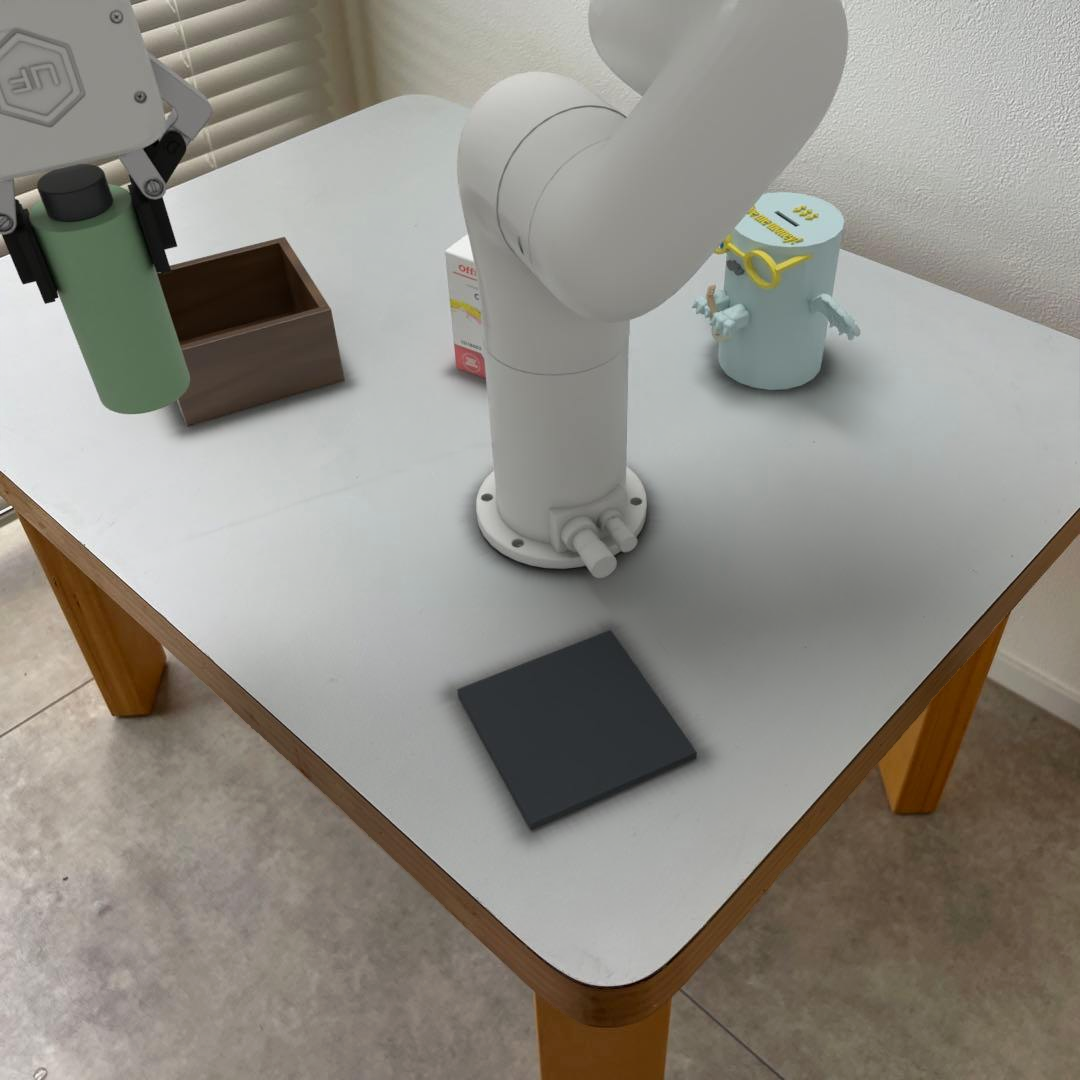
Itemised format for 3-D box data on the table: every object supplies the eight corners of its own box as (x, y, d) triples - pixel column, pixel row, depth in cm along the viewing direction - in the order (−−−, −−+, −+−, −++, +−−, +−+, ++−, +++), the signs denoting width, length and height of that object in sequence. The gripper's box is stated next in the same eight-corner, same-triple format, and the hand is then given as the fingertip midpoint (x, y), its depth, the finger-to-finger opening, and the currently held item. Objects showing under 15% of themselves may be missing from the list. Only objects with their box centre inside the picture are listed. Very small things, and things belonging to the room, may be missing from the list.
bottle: (198, 398, 63) (130, 187, 54) (106, 424, 61) (21, 212, 53) (181, 352, 66) (114, 146, 57) (94, 376, 65) (12, 169, 56)
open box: (345, 383, 97) (331, 309, 92) (188, 430, 93) (164, 355, 88) (299, 308, 106) (284, 236, 101) (154, 347, 102) (131, 274, 97)
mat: (696, 757, 68) (697, 752, 68) (530, 830, 65) (530, 824, 64) (610, 635, 75) (610, 629, 75) (457, 694, 72) (456, 689, 72)
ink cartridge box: (453, 372, 98) (436, 215, 88) (485, 344, 101) (472, 188, 91) (537, 402, 94) (530, 242, 84) (568, 371, 97) (564, 213, 87)
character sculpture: (636, 329, 102) (640, 188, 92) (741, 292, 105) (755, 153, 96) (774, 450, 89) (794, 300, 79) (888, 403, 92) (920, 255, 83)
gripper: (-274, -56, 41) (-65, 357, 54) (190, -131, 46) (283, 268, 58) (-259, -105, 46) (-71, 283, 59) (158, -169, 51) (250, 206, 63)
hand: (104, 272), depth 59 cm, fingers closed on bottle, 5 cm apart
